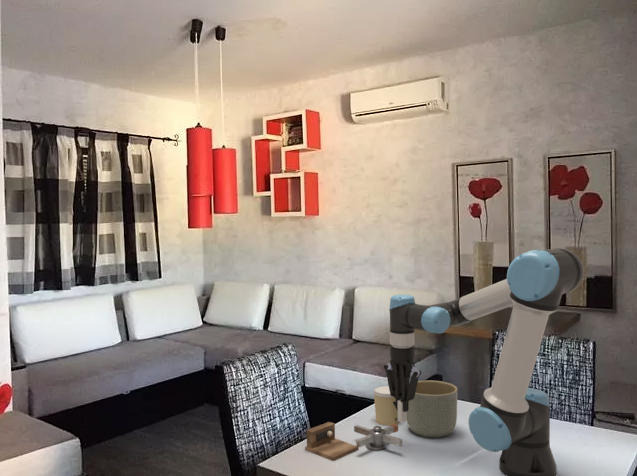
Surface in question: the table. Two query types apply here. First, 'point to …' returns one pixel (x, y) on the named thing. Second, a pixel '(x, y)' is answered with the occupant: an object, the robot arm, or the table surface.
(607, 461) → the table surface
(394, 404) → the coffee cup
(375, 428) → the silver cross-shaped piece
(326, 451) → the stand
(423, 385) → the planter
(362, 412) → the table surface
